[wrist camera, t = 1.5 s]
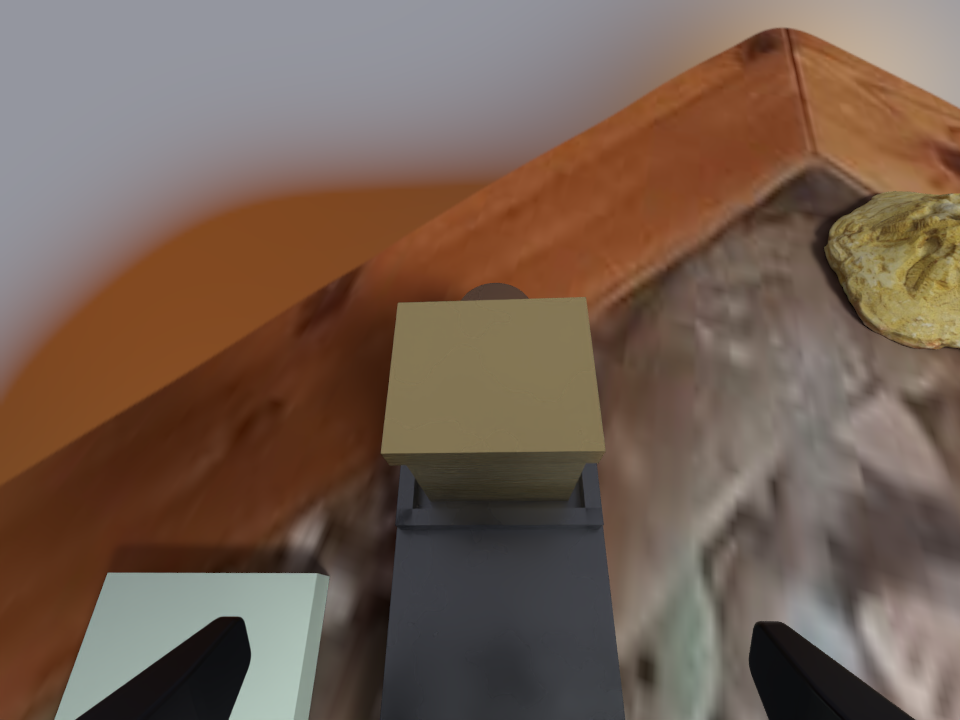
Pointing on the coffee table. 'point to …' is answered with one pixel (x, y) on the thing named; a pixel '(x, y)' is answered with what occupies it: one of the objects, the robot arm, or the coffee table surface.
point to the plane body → (501, 605)
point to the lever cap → (493, 398)
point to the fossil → (902, 266)
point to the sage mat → (187, 609)
